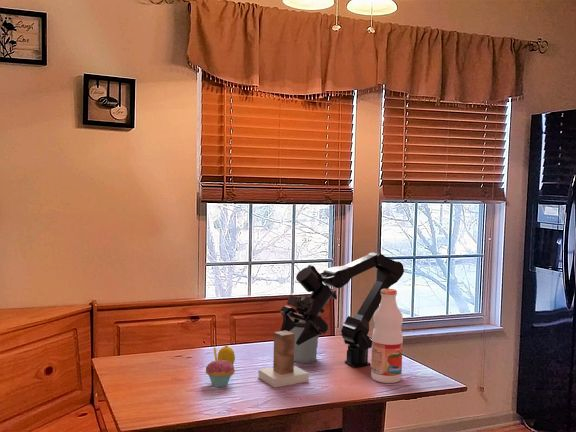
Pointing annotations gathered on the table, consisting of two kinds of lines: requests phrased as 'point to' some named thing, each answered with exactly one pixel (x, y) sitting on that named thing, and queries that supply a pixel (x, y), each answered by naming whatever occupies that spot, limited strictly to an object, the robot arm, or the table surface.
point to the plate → (283, 377)
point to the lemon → (226, 354)
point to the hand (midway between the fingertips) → (288, 340)
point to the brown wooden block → (283, 352)
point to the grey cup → (304, 345)
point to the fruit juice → (387, 340)
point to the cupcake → (219, 371)
